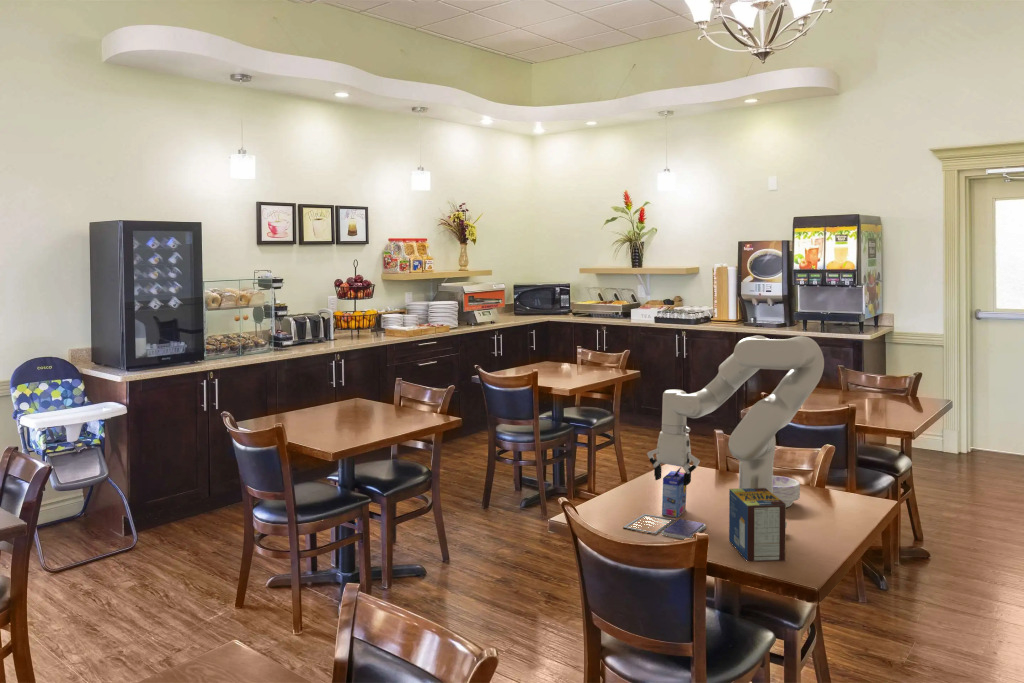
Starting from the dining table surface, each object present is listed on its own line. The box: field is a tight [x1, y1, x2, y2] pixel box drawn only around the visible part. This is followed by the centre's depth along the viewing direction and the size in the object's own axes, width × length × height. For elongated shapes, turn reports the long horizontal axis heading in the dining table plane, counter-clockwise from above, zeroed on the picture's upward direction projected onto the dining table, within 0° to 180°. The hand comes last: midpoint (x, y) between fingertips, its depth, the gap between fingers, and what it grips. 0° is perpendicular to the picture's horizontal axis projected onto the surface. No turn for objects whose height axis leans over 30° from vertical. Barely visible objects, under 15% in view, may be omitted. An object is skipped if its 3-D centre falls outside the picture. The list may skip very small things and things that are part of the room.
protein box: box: [728, 488, 787, 562], centre depth 209 cm, size 10×15×16 cm
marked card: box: [622, 513, 677, 535], centre depth 232 cm, size 11×15×1 cm
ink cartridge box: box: [661, 466, 687, 518], centre depth 243 cm, size 10×6×14 cm, turn 152°
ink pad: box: [661, 518, 707, 540], centre depth 226 cm, size 9×13×2 cm
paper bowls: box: [773, 475, 801, 508], centre depth 250 cm, size 15×15×8 cm
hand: (672, 481), depth 243 cm, fingers open, 9 cm apart
